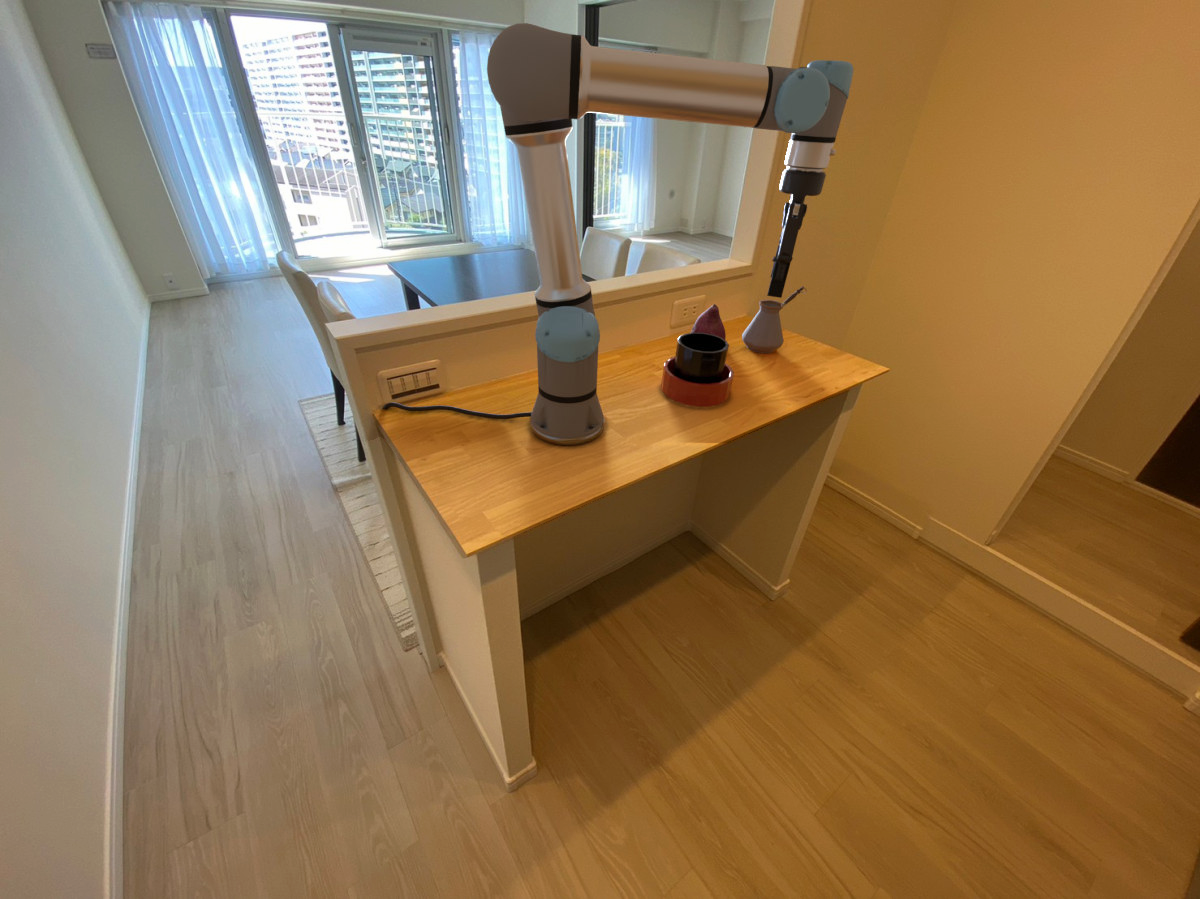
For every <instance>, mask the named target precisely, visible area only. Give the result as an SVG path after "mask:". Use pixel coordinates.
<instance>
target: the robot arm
mask: <svg viewBox="0 0 1200 899" xmlns="http://www.w3.org/2000/svg"><path fill="white" fill-rule="evenodd" d="M486 65H487V66H486V72H487V73H486V74H487V80H488V84H489V87H490V91H491V93H492V95H493V97H494V99H495V101H496V102H497V104H498V105H499V107H500V113H501V118H502V124H503V129H504V134H505V138H506V139H507V140H508V141H509V142H510V143H511V144H513V146H514V147H515V148H516V152H517V157H518V158H517V159H518V163H519V168H520V176H521V181H522V186H523V191H524V198H525V203H526V209H527V215H528V220H529V226H530V232H531V237H532V244H533V249H534V253H535V254H534V255H535V260H536V267H537V273H538V278H539V284H540V285H539V286H538V288H537V289H536V290H535V291H534V298H535V304H536V309H537V315H538V319H537V321H536V327H535V334H534V335H535V336H534V337H535V341H536V353H537V354H536V356H537V357H536V359H537V362H536V363H537V384H538V386H537V388H538V391H537V392H538V393H537V395H536V399H535V402H534V405H533V408H532V411H528V412H527V411H526V412H516V413H509V414H499V413H497V414H495V413H488V412H481V411H474V410H469V409H465V408H460V407H457V406H451V405H424V406H408V405H404V404H401V403H398V402H395V401H393V402H388V403H386V404H384V405H383V406H382V409H383V410H388V409H390V408H398V409H400V410H403V411H407V412H425V411H451V412H455V413H459V414H464V415H467V416H474V417H479V418H486V419H495V420H511V419H518V418H528V417H529V418H530V428H531V431H532V433H533V434H534V435H535V436H536V437H537V438H538V439H540V440H542V441H543V442H546V443H549V444H553V445H558V446H578V445H583V444H587V443H589V442H592V441H594V440H595V439H597V438H598V437H599V436H600V435H601V434H602V433H603V432H604V431H603V430H604V428H605V417H604V413H603V409H602V406H601V403H600V400H599V396H598V392H597V391H598V390H597V388H598V370H599V368H598V365H599V343H600V340H601V331H600V325H599V321H598V319H597V318H596V313H595V309H594V300H593V294H592V286H591V284H590V283H588V282H587V281H586V280H585V279H584V278H583V271H582V264H581V256H580V246H579V239H578V231H577V223H576V216H575V208H574V199H573V192H572V183H571V174H570V168H569V158H568V150H567V144H566V141H567V139H568V138H569V135H570V134H571V133H572V131H573V128H574V127H573V120H578V121H579V120H581V119H582V118H583V117H584V116H585V115H586V114H587V113H592V114H601V115H613V116H624V117H625V116H626V117H634V118H643V119H644V118H645V119H653V120H655V119H656V120H664V121H665V120H666V121H676V122H677V121H678V122H688V123H698V124H707V125H708V124H709V125H720V126H730V127H741V128H752V129H756V130H759V129H760V130H769V131H777V132H784V133H788V134H791V135H790V139H789V141H788V142H789V143H788V147H787V151H786V155H785V160H784V165H785V166H786V168H785V169H784V170H783V171H782V174H781V179H780V183H779V187H778V188H779V192H781V193H784V194H786V195H789V202H787V201H786V202H785V203H784V204H785V205H784V209H783V214H782V215H783V217H782V224H781V228H782V230H781V234H779V240H778V245H777V247H776V248H777V249H776V253H775V256H773V257H772V262H773V265H772V268H771V273H770V283H769V285H768V286H769V287H768V290H767V295H766V297H774V298H781V299H782V297H783V293H784V289H785V286H786V281H787V278H788V274H789V270H790V266H791V263H792V261H793V259H794V258H793V255H794V251H795V247H796V242H797V238H798V234H799V231H801V229H802V225H803V220H804V218H805V216H806V214H807V211H808V204H806V203H805V200H806V197H807V196H809V197H816V196H820V194H822V190H823V187H824V183H825V180H826V176H827V174H826V172H825V171H824V170H826V169H828V168H829V164H830V161H831V156H833V157H834V156H835V155H836V153H837V150H836V149H835V148H834V146H835V143H836V140H837V135H838V133H839V129H840V126H841V121H842V118H843V115H844V112H845V107H846V105H847V101H848V99H849V97H850V91H851V87H852V82H853V76H854V65H853V64H852V63H851V62H849V61H845V60H834V59H833V60H830V59H829V60H828V59H827V60H826V59H818V60H812V61H810V62H809V63H807V66H801V67H797V68H792V67H783V66H775V65H765V64H757V63H749V62H739V61H732V60H731V61H729V60H720V59H711V58H703V57H696V56H695V57H694V56H685V55H676V54H668V53H659V52H658V53H657V52H650V51H649V52H648V51H639V50H631V49H630V50H629V49H620V48H613V47H603V46H595V45H591V44H590V43H589V42H588V40H587V39H586V37H585V36H584V35H581V34H573V33H567V32H562V31H557V30H552V29H549V28H545V27H542V26H539V25H536V24H533V23H528V22H521V23H515V24H512V25H509V26H507V27H505V28H504V29H503V30H502V31H501V32H500V33H499V34H498V35H497V36H496V38H495V39H494V40H493V42H492V44H491V46H490V49H489V52H488V56H487V62H486Z"/></svg>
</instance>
